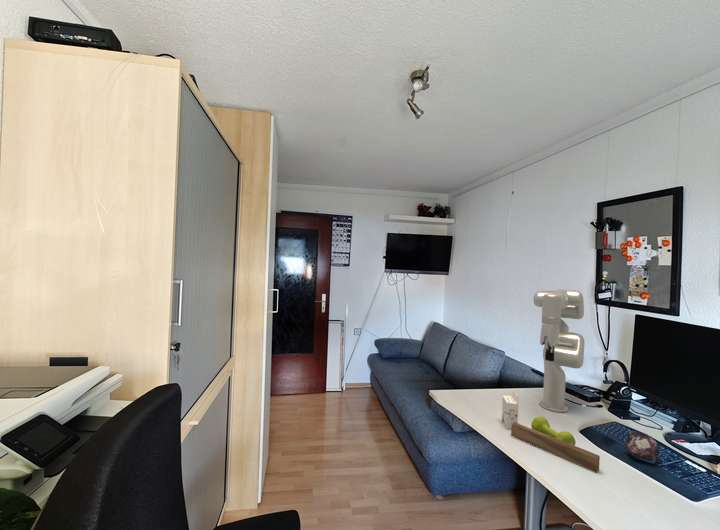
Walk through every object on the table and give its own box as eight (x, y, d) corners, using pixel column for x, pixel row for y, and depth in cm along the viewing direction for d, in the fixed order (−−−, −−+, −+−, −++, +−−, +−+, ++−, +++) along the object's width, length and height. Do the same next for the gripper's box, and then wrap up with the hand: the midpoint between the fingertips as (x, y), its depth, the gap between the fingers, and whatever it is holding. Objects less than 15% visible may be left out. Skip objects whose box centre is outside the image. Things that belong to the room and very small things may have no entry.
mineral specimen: (616, 449, 125) (622, 424, 126) (631, 456, 128) (637, 431, 130) (646, 464, 116) (653, 436, 117) (661, 470, 119) (668, 443, 121)
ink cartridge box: (501, 419, 150) (502, 388, 150) (512, 421, 149) (513, 389, 149) (505, 428, 142) (506, 395, 142) (517, 430, 141) (519, 396, 141)
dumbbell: (577, 452, 125) (578, 434, 125) (560, 454, 124) (561, 436, 124) (544, 431, 141) (545, 414, 141) (529, 432, 140) (529, 416, 140)
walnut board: (514, 433, 138) (514, 422, 138) (599, 469, 115) (599, 455, 115) (511, 435, 136) (511, 424, 136) (596, 472, 113) (597, 458, 113)
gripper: (548, 318, 156) (547, 356, 156) (535, 320, 146) (534, 361, 146) (566, 320, 150) (564, 359, 150) (553, 323, 140) (552, 365, 140)
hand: (549, 360), depth 148 cm, fingers closed
